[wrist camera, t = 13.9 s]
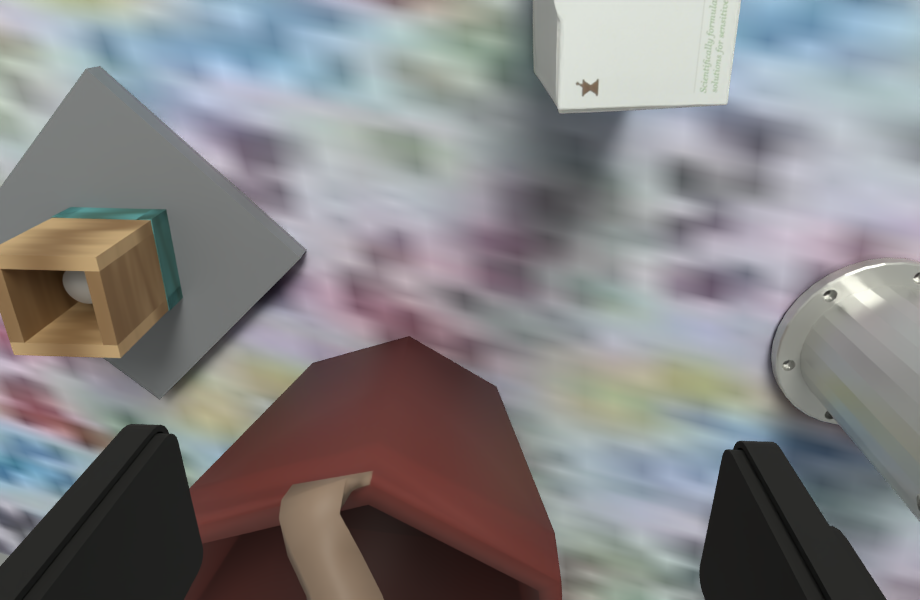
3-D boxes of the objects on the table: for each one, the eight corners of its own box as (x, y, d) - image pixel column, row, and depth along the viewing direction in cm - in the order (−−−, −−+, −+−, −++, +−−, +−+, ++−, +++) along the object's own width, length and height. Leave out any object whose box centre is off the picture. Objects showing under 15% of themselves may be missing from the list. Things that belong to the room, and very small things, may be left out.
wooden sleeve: (166, 209, 40) (96, 256, 33) (182, 297, 43) (121, 358, 35) (70, 207, 40) (-21, 253, 33) (92, 294, 43) (13, 355, 36)
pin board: (306, 249, 42) (278, 290, 37) (168, 388, 48) (124, 443, 42) (100, 66, 38) (29, 79, 32) (-28, 241, 43) (-108, 279, 37)
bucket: (306, 244, 42) (105, 526, 20) (609, 350, 45) (735, 704, 22) (232, 505, 52) (43, 890, 30) (483, 579, 55) (483, 983, 33)
